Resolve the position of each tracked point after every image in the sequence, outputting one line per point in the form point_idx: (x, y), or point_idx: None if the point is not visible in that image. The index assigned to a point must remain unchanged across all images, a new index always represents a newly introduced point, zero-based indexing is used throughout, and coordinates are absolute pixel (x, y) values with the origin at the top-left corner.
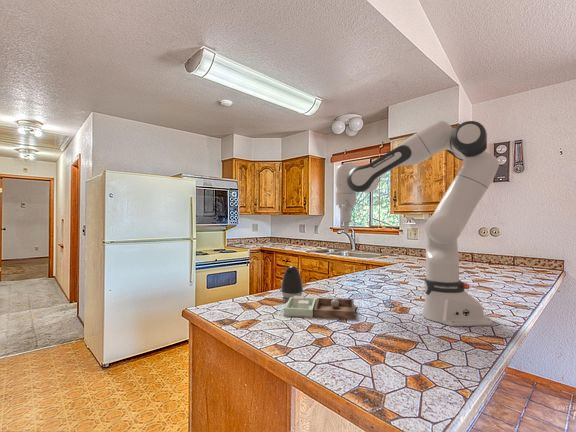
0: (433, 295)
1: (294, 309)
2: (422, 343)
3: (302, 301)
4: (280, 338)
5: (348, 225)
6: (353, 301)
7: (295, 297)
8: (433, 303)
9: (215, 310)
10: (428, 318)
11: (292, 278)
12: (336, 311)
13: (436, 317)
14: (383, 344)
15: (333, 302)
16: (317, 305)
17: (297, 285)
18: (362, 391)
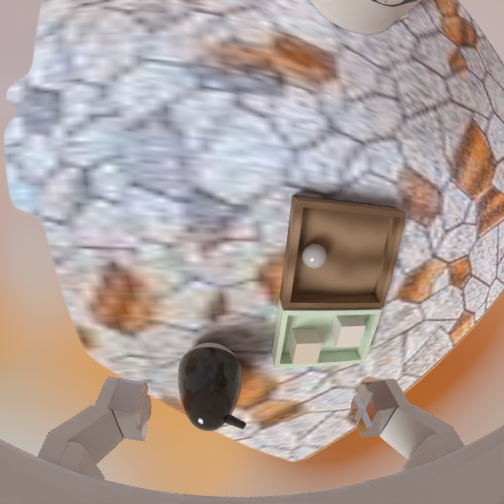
0: (406, 3)
1: (370, 343)
2: (475, 114)
3: (347, 339)
4: (437, 332)
5: (444, 424)
6: (322, 203)
7: (311, 358)
8: (397, 11)
9: (304, 440)
10: (378, 32)
11: (236, 397)
12: (395, 256)
13: (392, 22)
14: (478, 180)
15: (324, 262)
16: (343, 301)
17: (234, 372)
18: None
